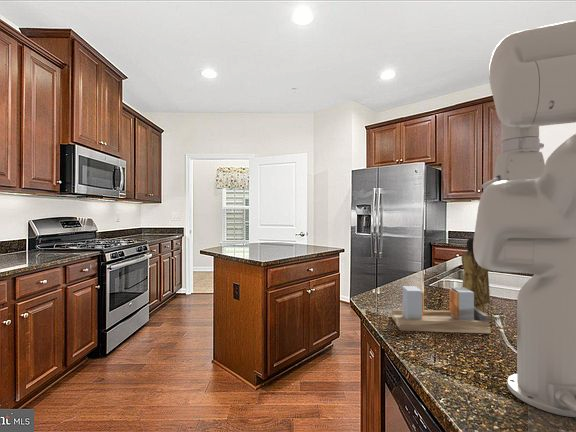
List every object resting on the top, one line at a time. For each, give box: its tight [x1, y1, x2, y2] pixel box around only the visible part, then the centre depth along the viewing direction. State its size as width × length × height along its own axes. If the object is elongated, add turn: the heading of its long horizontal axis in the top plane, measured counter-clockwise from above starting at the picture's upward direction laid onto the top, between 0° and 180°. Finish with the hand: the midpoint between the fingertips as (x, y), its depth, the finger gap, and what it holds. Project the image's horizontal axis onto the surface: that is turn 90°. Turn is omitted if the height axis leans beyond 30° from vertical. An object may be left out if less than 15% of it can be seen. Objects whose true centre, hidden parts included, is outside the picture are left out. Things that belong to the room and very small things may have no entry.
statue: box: [460, 236, 491, 315], centre depth 106 cm, size 9×9×25 cm
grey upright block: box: [402, 285, 425, 319], centre depth 96 cm, size 6×5×9 cm
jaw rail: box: [391, 286, 492, 334], centre depth 95 cm, size 12×24×10 cm, turn 83°
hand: (520, 218), depth 78 cm, fingers open, 9 cm apart
